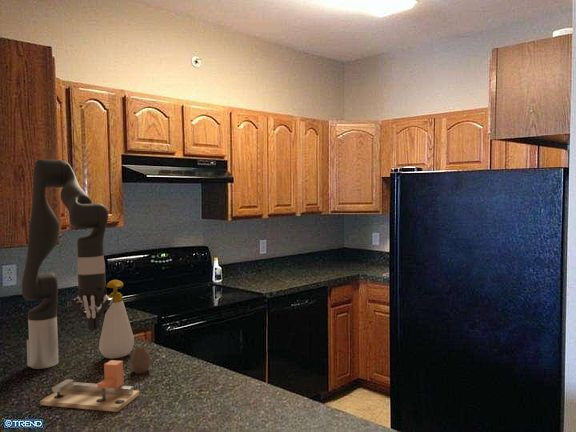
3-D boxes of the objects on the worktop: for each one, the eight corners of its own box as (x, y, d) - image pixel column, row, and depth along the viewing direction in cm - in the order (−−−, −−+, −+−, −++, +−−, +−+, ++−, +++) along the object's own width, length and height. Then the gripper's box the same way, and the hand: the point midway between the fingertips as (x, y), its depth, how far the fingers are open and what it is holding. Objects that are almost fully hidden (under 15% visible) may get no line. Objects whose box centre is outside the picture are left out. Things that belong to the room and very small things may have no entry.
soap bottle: (103, 364, 176) (100, 284, 175) (96, 356, 185) (94, 280, 183) (139, 357, 183) (137, 280, 182) (131, 350, 192) (129, 276, 190)
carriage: (95, 400, 141) (94, 370, 141) (111, 388, 150) (110, 360, 149) (108, 401, 141) (107, 370, 140) (123, 389, 149) (122, 360, 148)
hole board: (40, 404, 143) (40, 400, 143) (67, 388, 154) (66, 384, 154) (117, 411, 137) (117, 407, 137) (139, 394, 149) (139, 390, 149)
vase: (129, 376, 164) (129, 350, 164) (130, 369, 171) (130, 344, 171) (151, 373, 166) (150, 348, 166) (151, 367, 173) (150, 342, 172)
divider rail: (48, 397, 145) (48, 387, 145) (65, 387, 152) (65, 377, 152) (119, 403, 140) (118, 392, 140) (133, 393, 147) (132, 382, 147)
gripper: (63, 273, 142) (66, 333, 142) (104, 273, 139) (107, 334, 139) (79, 269, 149) (82, 326, 150) (118, 269, 146) (121, 327, 147)
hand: (94, 330), depth 144 cm, fingers closed
